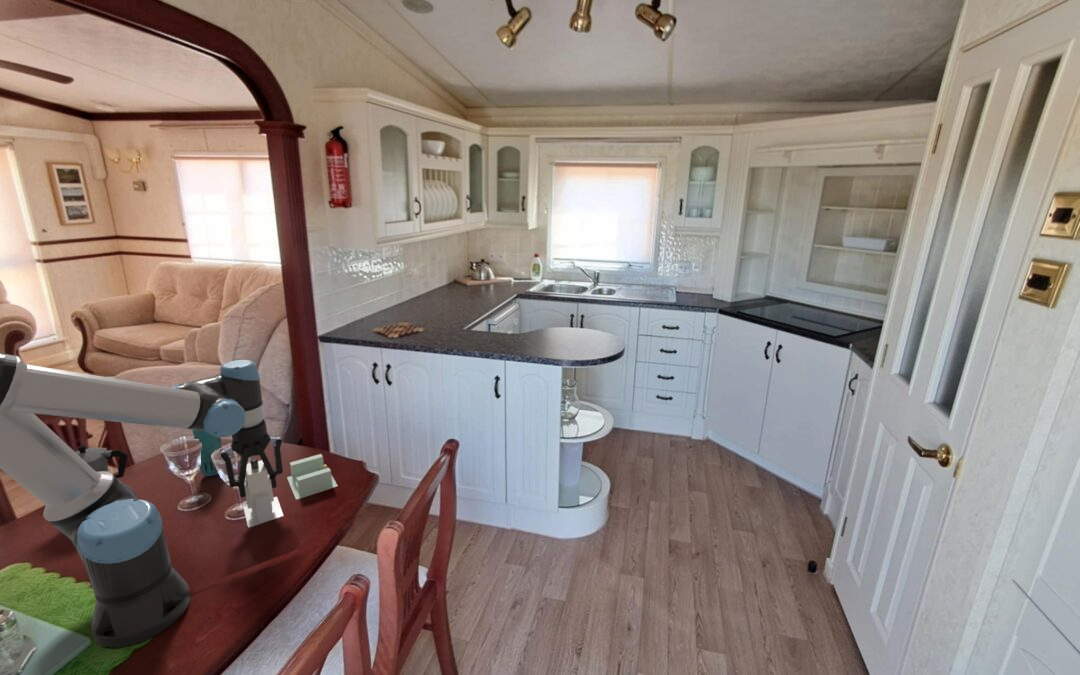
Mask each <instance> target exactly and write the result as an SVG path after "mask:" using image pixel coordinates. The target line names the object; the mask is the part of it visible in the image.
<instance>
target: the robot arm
mask: <svg viewBox="0 0 1080 675" xmlns="http://www.w3.org/2000/svg"><path fill="white" fill-rule="evenodd" d="M219 371H220V372H219V374H217V375H214V376H210V377H205V378H200V379H197V380H193V381H188V382H184V383H177V384H176V385H173V386H169V387H168V386H163V385H155V384H150V383H144V382H138V381H132V380H127V379H126V380H125V379H120V378H115V377H114V378H113V377H108V376H101V375H97V374H96V375H94V374H90V373H83V372H78V371H71V370H65V369H59V368H54V367H53V368H52V367H45V366H42V365H41V366H40V365H35V364H28V363H25V362H24V361H23V360H22V358H21V357H19V355H14V354H13V355H12V354H9V353H2V352H0V470H2V471H3V472H4V473H5V474H7V475H8V477H10V478H11V479H13V481H15V482H16V483H18V485H20V486H21V487H22V488H24V489H25V490H26V491H27V492H28V493H30V494H31V496H33V497H35V498H36V499H37V500H38V501H40V502H41V503H42V504H43V505H44V506H45V507H44V510H43V513H42V514H43V518H44V519H45V520H46V522H48V523H49V524H51V525H52V526H53V527H54V528H56V529H57V530H58V531H60V532H61V533H62V534H63V535H64V536H66V537H67V538H68V539H69V540H70V541H71V543H72V544H73V546H74V547H75V550H76V552H77V553H78V555H79V558H80V559H81V560H82V562H83V565H84V566H85V570H86V572H87V575H88V579H89V582H90V585H91V588H92V591H93V594H94V597H95V603H94V609H93V614H92V619H91V626H90V628H91V630H90V631H91V634H92V636H93V640H94V641H95V643H96V644H97V645H98V646H100V647H102V646H103V647H102V648H106V647H121V648H125V647H124V646H126V647H129V646H128V645H130V646H133V644H134V645H136V644H140V643H143V642H145V641H147V640H148V639H151V638H153V637H155V636H156V635H158V634H159V633H161V632H163V631H165V630H167V628H169V627H170V626H172V625H173V624H174V623H175V622H176V621H177V620H179V618H180V617H182V615H183V614H184V613H185V611H186V610H187V608H188V606H189V605H190V604H189V603H190V601H191V592H190V589H189V588H190V587H189V585H188V583H187V581H186V580H185V579H184V578H183V577H182V576H181V575H180V574H179V573H178V571H177V570H175V568H174V567H173V564H172V561H171V558H170V557H171V556H170V552H169V548H168V544H167V540H166V537H165V536H166V535H165V532H164V529H163V519H162V516H161V514H160V512H159V510H158V508H157V507H156V506H155V504H153V502H150V501H148V500H146V499H145V500H144V499H141V498H140V499H139V498H138V496H137V495H136V493H135V491H134V490H133V489H132V488H131V487H129V486H128V485H126V484H124V483H123V482H121V481H120V479H119V478H116V477H115V476H114V475H115V474H113V472H112V473H111V472H110V471H108V472H107V471H100V472H96V471H95V470H93V469H92V468H91V467H90V466H89V465H88V464H87V463H86V462H85V461H84V460H83V459H82V458H81V457H80V456H78V455H77V454H76V453H75V452H76V451H75V450H73V449H72V448H71V447H70V446H69V445H68V444H67V443H66V442H65V441H63V439H62V438H60V437H59V436H58V434H56V433H55V432H54V431H53V430H52V429H51V428H50V427H49V426H47V424H46V423H44V422H43V421H42V420H41V419H40V418H39V417H38V416H37V414H38V415H45V416H56V417H65V418H74V419H76V418H77V419H85V420H86V419H87V420H94V421H96V420H97V421H105V422H115V423H125V424H126V423H127V424H136V425H144V426H145V425H147V426H156V427H163V428H164V427H165V428H175V429H186V430H192V431H193V430H200V431H206V432H207V433H208V434H210V435H213V436H216V437H221V438H228V437H230V436H231V438H232V439H231V440H232V441H231V444H230V446H228V448H227V447H226V448H222V449H221V450H220V454H221V457H222V458H223V460H224V461H225V465H226V467H225V470H226V473H227V477H228V483H229V487H230V488H235V487H237V488H238V490H239V496H240V498H245V501H246V506H248V509H250V508H251V502H250V495H249V489H248V484H247V481H246V468H247V464H248V461H249V459H250V458H251V457H255V456H259V457H260V459H261V460H262V461H263V463H264V465H265V467H266V470H267V475H268V482H269V489H270V495H271V502H272V501H274V492H273V489H275V488H277V486H278V484H277V476H278V475H281V474H283V472H284V471H283V462H282V454H281V446H282V442H283V440H282V438H281V436H280V435H276V436H275V437H274V436H270V434H268V427H267V422H266V419H265V417H266V415H265V408H264V403H263V397H262V389H261V388H262V387H261V377H260V373H259V369H258V366H257V363H255V362H254V361H252V360H250V359H238V360H237V359H236V360H230V361H228V362H226V363H222V365H221V366H220V370H219ZM269 444H271V446H272V447H273V453H274V455H273V456H274V463H275V468H274V469H273V466H272V465H271V463H270V461H269V458H268V456H267V453H266V452H265V450H266V448H267V447H268V446H269ZM233 452H235V453H236V454H238V455H239V456H240V460H239V467H238V468H239V469H238V476H237V479H236V478H235V475H234V473H235V472H234V470H233V464H232V460H231V459H232V458H231V457H232V456H233Z"/></svg>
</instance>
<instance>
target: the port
mask: <svg viewBox="0 0 1080 675" xmlns="http://www.w3.org/2000/svg"><path fill="white" fill-rule="evenodd" d="M289 467H290V472H291V475H290V476H287V477H286V478H287V481H288V483H289V486H290V488H291V491H292V493H293V495H294V498H295V501H296V500H300V499H303V498H306V497H308V496H309V497H310V496H312V495H314V494H319V493H321V492H325V491H328V490H330V489H333V488H336V487H338V484H337V482H336V480H335V478H334V477H333V475H332V470H331V469H330V467H328V465H327V464H324V456H323V454H322V453H319V454H315V455H311V456H309V457H305V458H302V459H298V460H293V461H292V462H291V461H290V462H289Z"/></svg>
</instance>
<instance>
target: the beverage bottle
mask: <svg viewBox="0 0 1080 675" xmlns="http://www.w3.org/2000/svg"><path fill="white" fill-rule="evenodd" d="M191 432H192V434H193V439H199V441H200V442H201V443H202V449H201V466H200V465H199V471H200V474H201V475H202V476H204V477H209V476H210V477H211V476H215V475H219V474H218V473H217V470H216V468H215V466H214V464H213V462H212V459H211V454H212V453H213V452H214V451H215V450H217V449H219V448H221V447H223V444H222V437H216V436H213V435H210V434H208V433H207V432H206V431H200V430H192V431H191Z"/></svg>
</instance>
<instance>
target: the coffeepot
mask: <svg viewBox="0 0 1080 675" xmlns="http://www.w3.org/2000/svg"><path fill="white" fill-rule="evenodd" d="M76 449H77V451H74V452H75V453H76V454H77V455H78V456H80V457H81V458H82V459H83V460H84V461H85V462H86V463H87V464H88V465H89V466H90V467H91V468H92V469H93V470H95V471H96V472H100V471H107V472H109V466H108V465H109V464H108V459H112V458H115V457H118V467H117V471H118V473H117V474H113V475H114V476H115V477H116V478H117V479H119V478H124V476H125V471H126V468H127V467H126V466H127V462H128V457H129V456H128V454H127V453H126V452H125V451H123V450H121V449H109V450H107V447H97V446H96V447H89V448H86V445H85V444H82V445H79V446H77V448H76Z"/></svg>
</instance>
